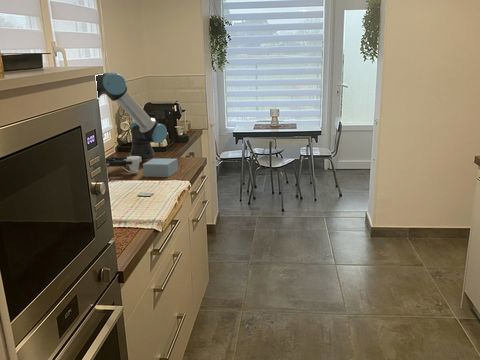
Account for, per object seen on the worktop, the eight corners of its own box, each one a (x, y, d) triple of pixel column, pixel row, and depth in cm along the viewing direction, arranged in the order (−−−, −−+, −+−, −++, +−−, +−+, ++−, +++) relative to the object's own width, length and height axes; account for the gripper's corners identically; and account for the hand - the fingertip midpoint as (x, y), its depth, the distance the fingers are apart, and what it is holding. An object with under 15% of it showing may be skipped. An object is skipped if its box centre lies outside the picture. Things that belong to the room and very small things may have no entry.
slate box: (154, 170, 255) (153, 158, 253) (178, 171, 252) (177, 158, 250) (143, 177, 241) (142, 164, 239) (168, 177, 238) (167, 164, 236)
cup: (139, 173, 243) (138, 158, 241) (121, 173, 243) (119, 159, 241) (142, 170, 250) (141, 155, 248) (124, 170, 250) (122, 156, 248)
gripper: (103, 165, 255) (144, 163, 255) (92, 173, 236) (136, 171, 236) (101, 151, 254) (142, 150, 254) (90, 159, 234) (135, 157, 234)
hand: (139, 160), depth 245 cm, fingers closed on cup, 7 cm apart
